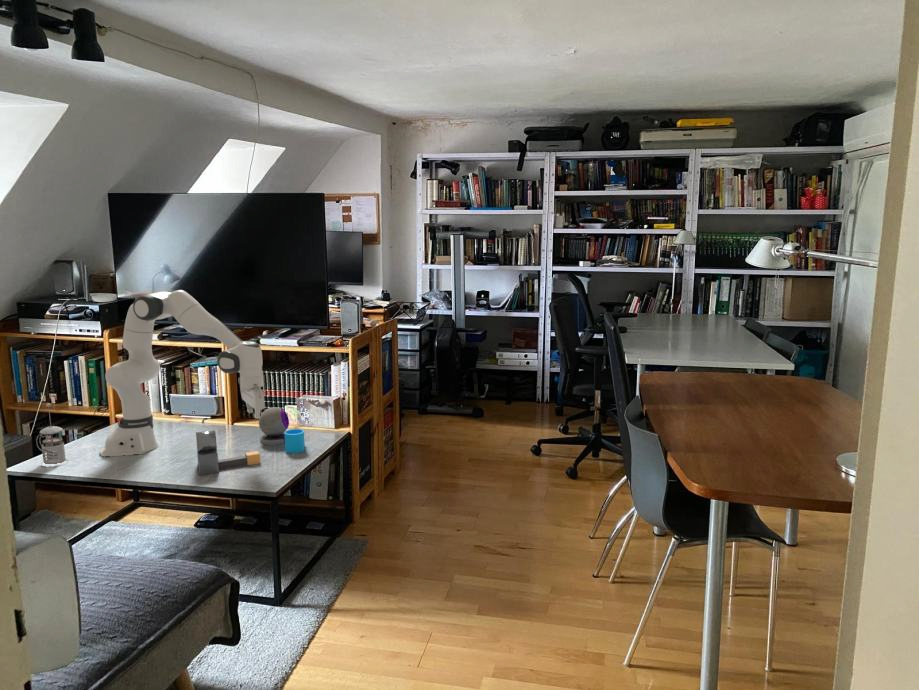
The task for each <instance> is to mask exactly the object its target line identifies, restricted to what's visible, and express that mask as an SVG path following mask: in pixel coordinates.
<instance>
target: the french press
mask: <svg viewBox="0 0 919 690" xmlns="http://www.w3.org/2000/svg"><path fill="white" fill-rule="evenodd" d="M45 407H48V409H50V407H52V403H49V402H48V403H46V404H45ZM50 413H51V412H50V410H48V414H49V418H51V414H50ZM49 424H50V425H49V426H46V427H45V428H43V429H40V431H39V434H38V435H37V436H36V439H35V441H36V446H37V448H38V449H39V450H40V451H41V452H42V453H41V454H42V461H43V462H44V463H45V464H57V463H62V462H64V461H66V460H68V459H67V457H66V452H65V442H64V440H63V438H62V437H49V438H46V439H44V440H42V441H39V444H40V446H41V448H40V447H39V445H38V438H44V437H46V435H51V436H53V435H54V434H58V433H61V432H63V428H62V427H60V426H54V425H53V426H52V422H51V419H49ZM43 435H44V436H43ZM39 436H40V437H39ZM41 442H42V443H41ZM43 462H42V463H43Z"/></svg>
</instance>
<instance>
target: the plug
mask: <svg viewBox="0 0 919 690" xmlns="http://www.w3.org/2000/svg"><path fill="white" fill-rule="evenodd" d="M256 464H261V453H260V452H259V450H254V451H249V452H244V455H241V456H235V457H234V456H233V457H228V458H222V459H218V466H219V470H224V469H225V470H226V469H230V468H237V467H243V466H250V465H256Z"/></svg>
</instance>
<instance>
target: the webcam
mask: <svg viewBox="0 0 919 690" xmlns="http://www.w3.org/2000/svg"><path fill="white" fill-rule="evenodd" d="M258 426H259V428H260V430H261V432H262V433H263V435H262V434H261V436H260V437H259V442H260V443H261V444H262V445H269V446H270V445H271V446H273V445H274V446H275V445H282V444H285V434H284V432H285V431H287V430H288V429H289V426H290V420H289V416H288V413H287V412H286V411H285V410H284V409H283V408H280V407H276V406H273V407H269V408H266V409H265V410H264V411H263V412H262V413H260V418H259V420H258ZM281 443H282V444H281Z"/></svg>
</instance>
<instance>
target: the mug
mask: <svg viewBox="0 0 919 690" xmlns="http://www.w3.org/2000/svg"><path fill="white" fill-rule="evenodd" d="M284 434H285V442H284V449H285V451H286V453H287V452H288V454H299V453H298V452H300V453H303V452H304V451H305V450H306V447H305V444H306V443H305V442H306V441H305V430H304V429H301V428H293V429H287V430H286V431H285V432H284ZM302 451H303V452H302Z"/></svg>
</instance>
